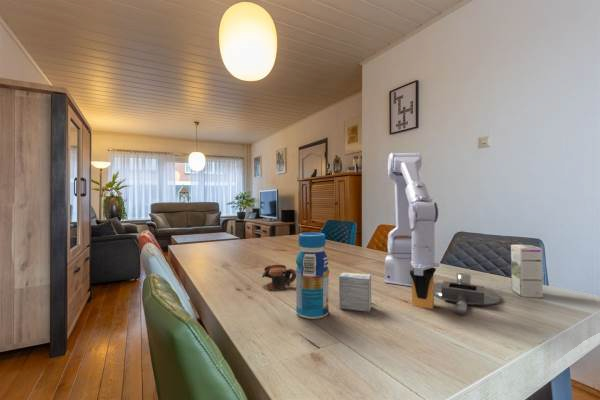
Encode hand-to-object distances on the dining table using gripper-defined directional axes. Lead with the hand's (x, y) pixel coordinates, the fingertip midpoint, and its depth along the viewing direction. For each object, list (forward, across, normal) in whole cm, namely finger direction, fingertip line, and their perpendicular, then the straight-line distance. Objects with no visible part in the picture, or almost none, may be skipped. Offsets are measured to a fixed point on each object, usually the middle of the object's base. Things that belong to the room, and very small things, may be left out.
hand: (423, 296), depth 77 cm
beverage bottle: (+3, -20, +23) cm, 31 cm away
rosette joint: (+2, +11, -9) cm, 14 cm away
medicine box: (+3, -11, +15) cm, 19 cm away
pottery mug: (+3, -6, +43) cm, 44 cm away
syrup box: (+3, +25, -25) cm, 35 cm away
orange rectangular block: (+2, 0, 0) cm, 2 cm away
